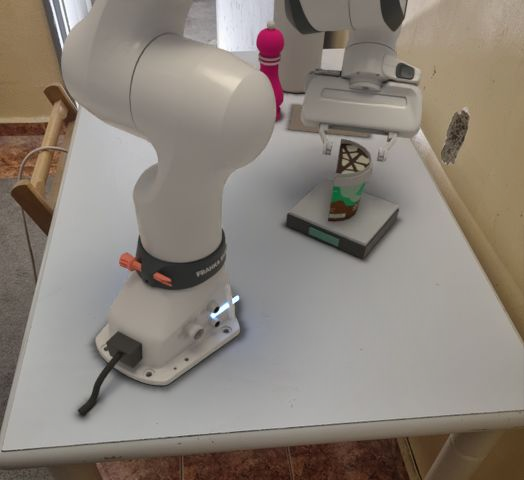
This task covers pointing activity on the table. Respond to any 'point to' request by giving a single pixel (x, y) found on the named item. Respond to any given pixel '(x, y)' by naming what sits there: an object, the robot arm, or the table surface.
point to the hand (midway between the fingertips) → (353, 157)
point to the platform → (298, 125)
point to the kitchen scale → (342, 232)
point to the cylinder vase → (296, 52)
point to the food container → (349, 180)
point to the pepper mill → (271, 59)
